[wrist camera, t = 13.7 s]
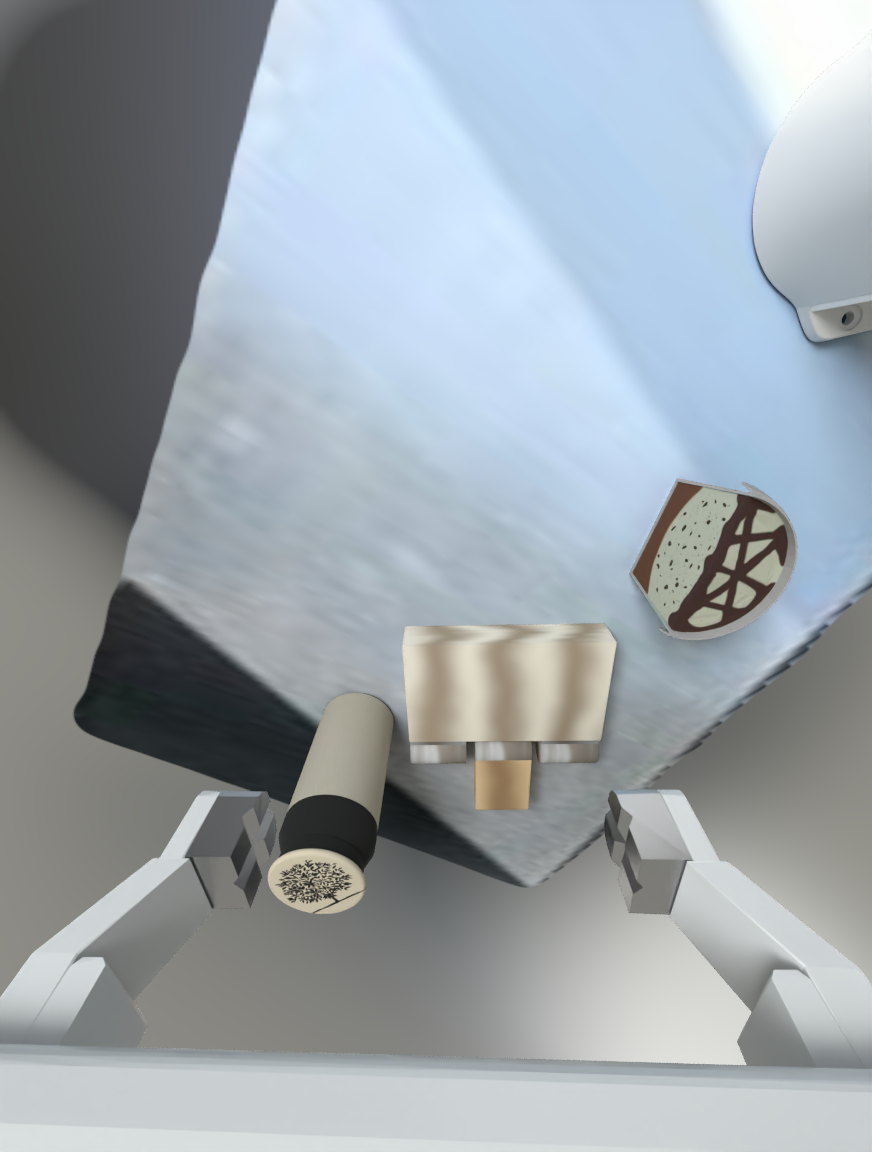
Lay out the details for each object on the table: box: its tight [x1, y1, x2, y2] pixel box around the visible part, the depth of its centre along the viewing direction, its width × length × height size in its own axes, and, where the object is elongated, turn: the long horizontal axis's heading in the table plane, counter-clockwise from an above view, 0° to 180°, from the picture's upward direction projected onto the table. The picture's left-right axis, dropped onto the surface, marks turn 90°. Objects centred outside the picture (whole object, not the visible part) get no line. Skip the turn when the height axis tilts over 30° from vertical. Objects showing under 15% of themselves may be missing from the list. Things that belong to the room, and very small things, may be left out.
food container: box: [629, 479, 797, 640], centre depth 36 cm, size 12×6×10 cm, turn 164°
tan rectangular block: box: [474, 741, 532, 810], centre depth 50 cm, size 6×10×4 cm, turn 2°
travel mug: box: [268, 693, 394, 914], centre depth 42 cm, size 8×8×18 cm
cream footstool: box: [402, 623, 617, 764], centre depth 46 cm, size 20×16×4 cm
